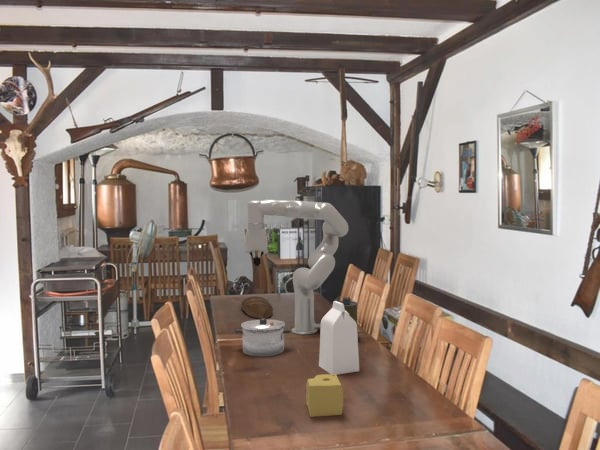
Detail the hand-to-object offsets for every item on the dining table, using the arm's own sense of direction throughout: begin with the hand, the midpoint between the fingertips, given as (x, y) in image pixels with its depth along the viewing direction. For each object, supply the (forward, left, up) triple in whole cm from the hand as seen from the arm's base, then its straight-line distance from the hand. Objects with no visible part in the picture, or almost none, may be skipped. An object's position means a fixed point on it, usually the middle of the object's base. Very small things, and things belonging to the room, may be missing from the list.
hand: (257, 265), depth 253 cm
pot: (-4, +19, -35) cm, 40 cm away
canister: (-41, +3, -35) cm, 54 cm away
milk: (-36, +43, -35) cm, 66 cm away
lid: (-4, +19, -24) cm, 31 cm away
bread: (+7, -55, -35) cm, 65 cm away
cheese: (-30, +83, -35) cm, 95 cm away
